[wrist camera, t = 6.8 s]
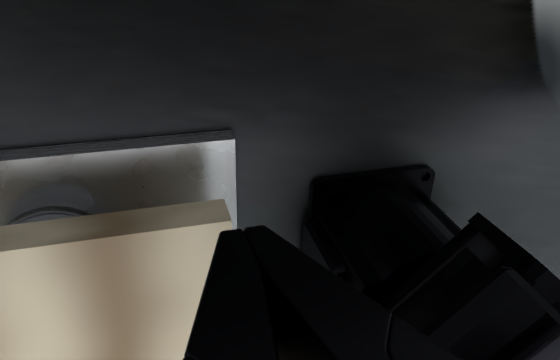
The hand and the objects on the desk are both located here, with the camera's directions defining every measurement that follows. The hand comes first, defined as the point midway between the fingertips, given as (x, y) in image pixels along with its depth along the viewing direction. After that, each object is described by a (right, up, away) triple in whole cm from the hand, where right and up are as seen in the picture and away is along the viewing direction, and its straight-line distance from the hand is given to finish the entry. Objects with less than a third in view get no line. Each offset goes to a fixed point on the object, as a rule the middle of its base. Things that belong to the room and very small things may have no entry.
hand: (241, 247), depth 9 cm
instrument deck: (-6, -10, +13) cm, 17 cm away
